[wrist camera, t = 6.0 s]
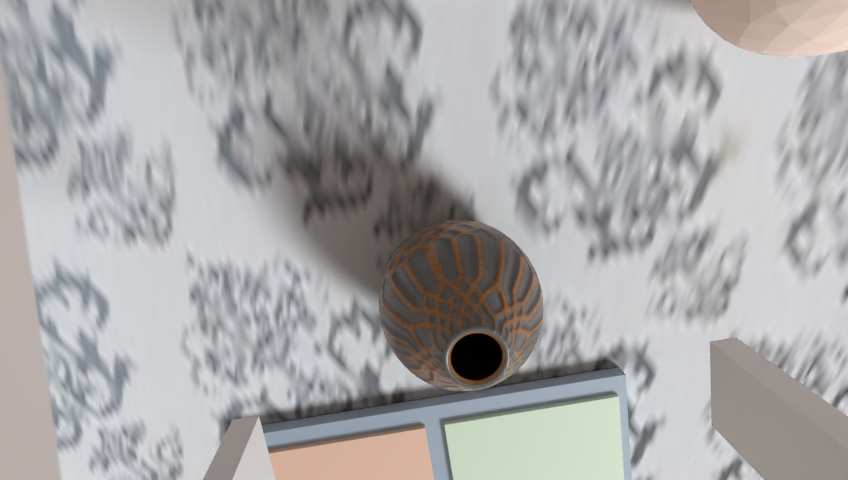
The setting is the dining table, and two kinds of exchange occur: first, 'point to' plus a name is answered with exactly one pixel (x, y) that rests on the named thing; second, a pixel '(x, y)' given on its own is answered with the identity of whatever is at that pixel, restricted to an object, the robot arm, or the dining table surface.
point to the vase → (461, 305)
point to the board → (468, 435)
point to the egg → (779, 25)
